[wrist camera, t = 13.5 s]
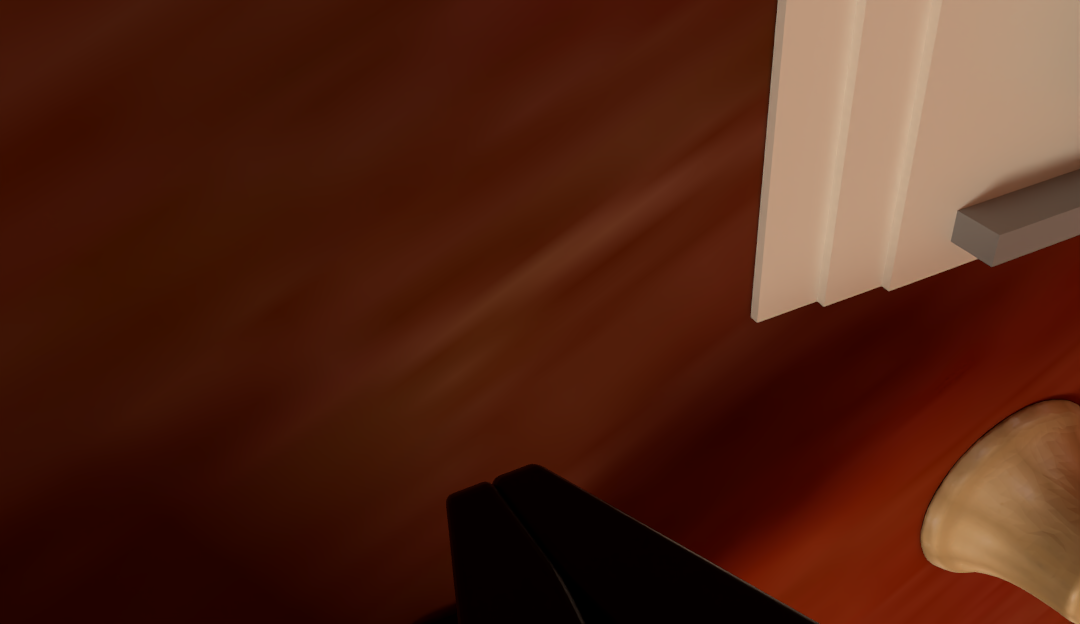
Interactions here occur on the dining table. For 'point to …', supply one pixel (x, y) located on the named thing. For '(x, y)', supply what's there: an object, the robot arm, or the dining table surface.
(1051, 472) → the hand bell
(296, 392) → the dining table surface
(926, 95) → the dock
